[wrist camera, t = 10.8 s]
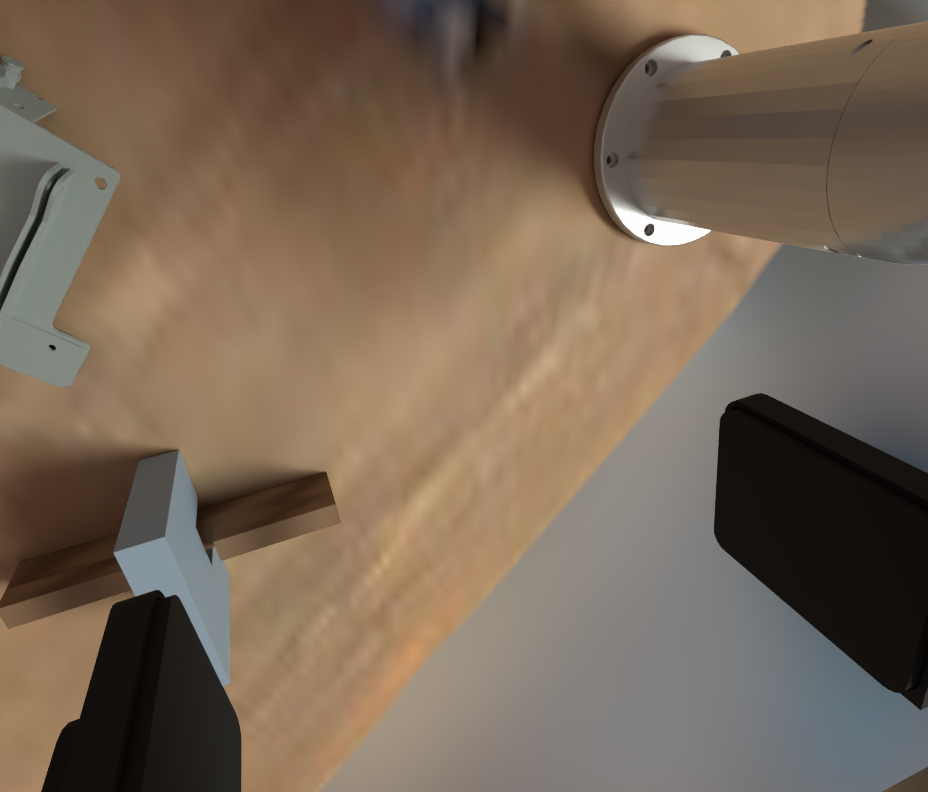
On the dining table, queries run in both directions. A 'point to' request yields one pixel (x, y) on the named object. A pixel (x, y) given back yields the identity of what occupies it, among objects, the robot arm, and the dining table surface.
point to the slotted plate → (175, 553)
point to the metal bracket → (42, 231)
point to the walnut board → (221, 526)
